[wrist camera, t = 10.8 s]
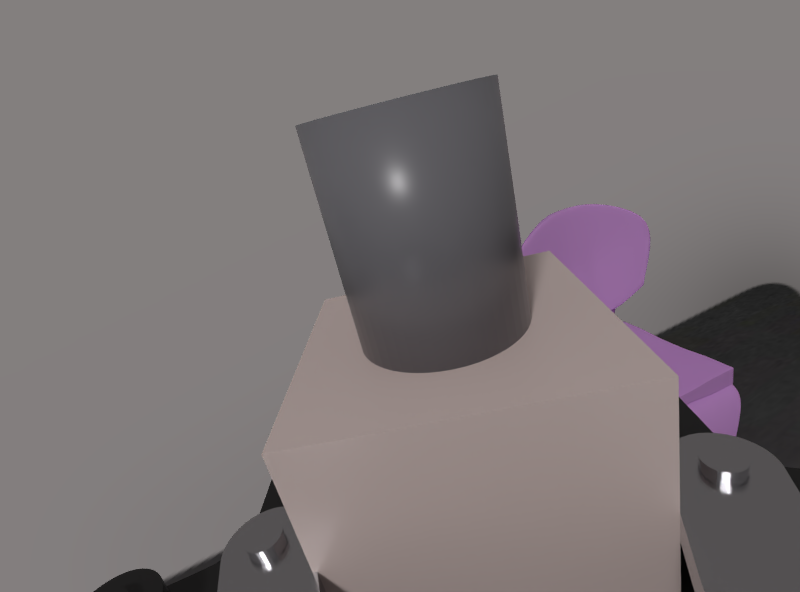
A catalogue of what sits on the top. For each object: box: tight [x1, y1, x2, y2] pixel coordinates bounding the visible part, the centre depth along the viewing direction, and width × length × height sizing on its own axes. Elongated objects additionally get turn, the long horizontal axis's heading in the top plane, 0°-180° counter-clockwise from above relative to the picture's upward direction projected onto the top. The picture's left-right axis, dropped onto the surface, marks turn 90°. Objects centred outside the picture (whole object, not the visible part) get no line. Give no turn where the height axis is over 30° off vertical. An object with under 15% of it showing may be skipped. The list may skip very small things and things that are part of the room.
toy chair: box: [522, 204, 741, 437], centre depth 23 cm, size 8×9×15 cm
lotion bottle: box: [262, 75, 681, 592], centre depth 8 cm, size 4×4×12 cm
